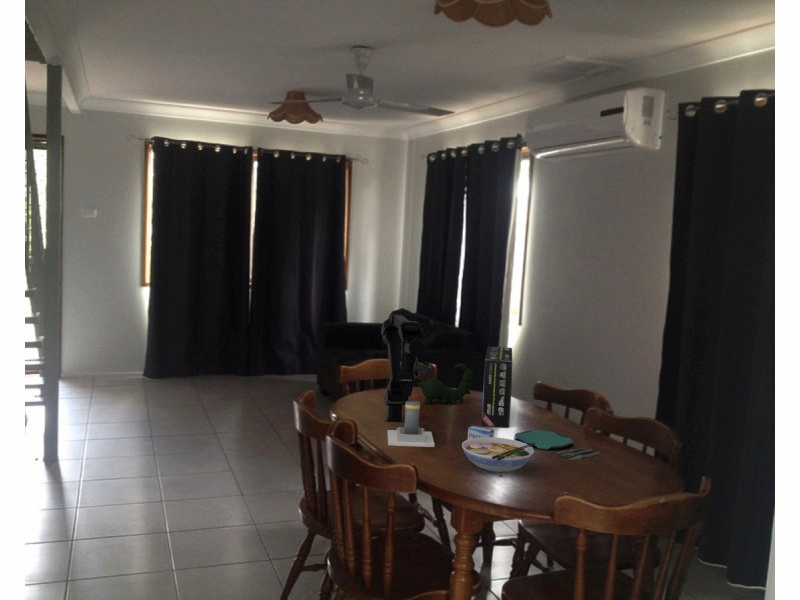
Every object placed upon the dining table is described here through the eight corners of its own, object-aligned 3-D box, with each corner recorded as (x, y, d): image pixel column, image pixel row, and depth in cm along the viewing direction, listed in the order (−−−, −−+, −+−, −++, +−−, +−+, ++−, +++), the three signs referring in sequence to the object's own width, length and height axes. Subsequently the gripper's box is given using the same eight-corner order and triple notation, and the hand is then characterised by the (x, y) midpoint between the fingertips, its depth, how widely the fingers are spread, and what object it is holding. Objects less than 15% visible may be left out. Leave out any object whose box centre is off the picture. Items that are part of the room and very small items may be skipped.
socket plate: (387, 432, 265) (388, 423, 265) (431, 434, 266) (431, 425, 265) (388, 445, 249) (388, 435, 249) (434, 447, 250) (434, 437, 249)
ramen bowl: (487, 453, 245) (488, 430, 244) (547, 469, 231) (549, 444, 230) (443, 469, 226) (445, 444, 225) (507, 488, 211) (508, 461, 211)
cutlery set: (543, 433, 276) (544, 427, 276) (604, 456, 251) (605, 450, 251) (504, 439, 265) (504, 433, 265) (563, 464, 240) (564, 457, 240)
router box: (483, 405, 316) (487, 345, 313) (508, 408, 314) (512, 347, 312) (480, 426, 280) (484, 358, 278) (509, 429, 279) (513, 360, 277)
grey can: (407, 435, 259) (409, 399, 258) (420, 437, 257) (422, 402, 255) (401, 438, 254) (403, 402, 253) (414, 441, 252) (416, 404, 251)
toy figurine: (463, 404, 324) (410, 399, 317) (469, 362, 323) (416, 357, 316) (471, 409, 315) (416, 405, 308) (477, 366, 314) (423, 361, 307)
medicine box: (466, 452, 245) (467, 427, 244) (471, 449, 249) (472, 425, 248) (488, 457, 241) (489, 431, 241) (492, 453, 245) (494, 428, 245)
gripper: (428, 357, 257) (427, 401, 256) (432, 354, 275) (431, 395, 275) (397, 356, 258) (396, 400, 258) (403, 353, 276) (402, 394, 276)
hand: (408, 397), depth 266 cm, fingers open, 9 cm apart
